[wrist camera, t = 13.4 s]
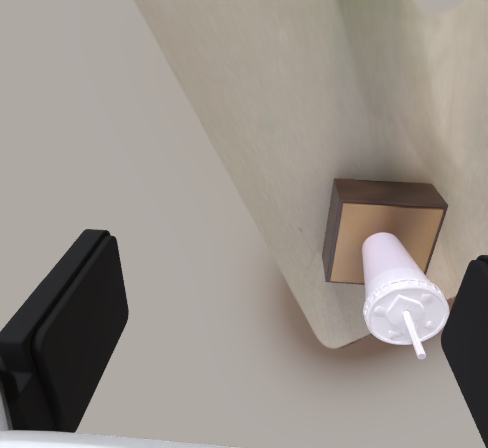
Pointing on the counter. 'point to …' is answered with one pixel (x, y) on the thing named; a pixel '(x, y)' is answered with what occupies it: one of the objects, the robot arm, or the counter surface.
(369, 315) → the smoothie
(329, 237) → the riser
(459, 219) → the counter surface
